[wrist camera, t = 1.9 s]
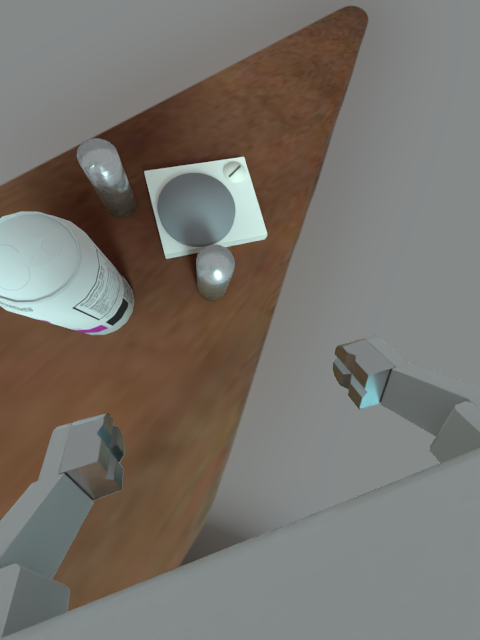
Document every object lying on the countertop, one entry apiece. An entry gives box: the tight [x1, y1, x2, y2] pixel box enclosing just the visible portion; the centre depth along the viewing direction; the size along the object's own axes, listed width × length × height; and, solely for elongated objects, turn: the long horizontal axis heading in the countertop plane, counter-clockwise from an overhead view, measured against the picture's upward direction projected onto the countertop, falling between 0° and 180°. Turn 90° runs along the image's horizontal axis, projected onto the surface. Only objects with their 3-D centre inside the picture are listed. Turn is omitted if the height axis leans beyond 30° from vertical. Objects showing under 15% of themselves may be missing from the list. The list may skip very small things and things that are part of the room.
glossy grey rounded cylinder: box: [196, 245, 235, 301], centre depth 32 cm, size 4×4×8 cm
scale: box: [144, 157, 267, 259], centre depth 37 cm, size 14×12×2 cm
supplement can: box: [0, 212, 135, 335], centre depth 27 cm, size 8×8×15 cm
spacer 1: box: [77, 138, 136, 217], centre depth 33 cm, size 4×4×8 cm
